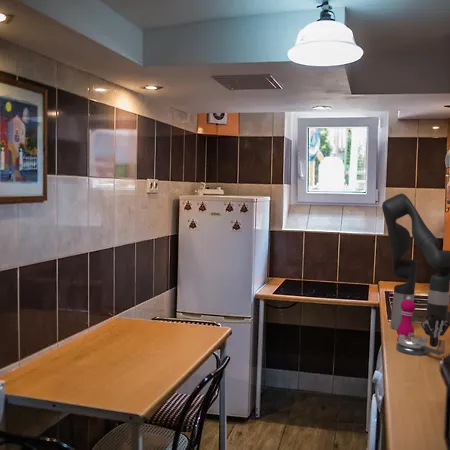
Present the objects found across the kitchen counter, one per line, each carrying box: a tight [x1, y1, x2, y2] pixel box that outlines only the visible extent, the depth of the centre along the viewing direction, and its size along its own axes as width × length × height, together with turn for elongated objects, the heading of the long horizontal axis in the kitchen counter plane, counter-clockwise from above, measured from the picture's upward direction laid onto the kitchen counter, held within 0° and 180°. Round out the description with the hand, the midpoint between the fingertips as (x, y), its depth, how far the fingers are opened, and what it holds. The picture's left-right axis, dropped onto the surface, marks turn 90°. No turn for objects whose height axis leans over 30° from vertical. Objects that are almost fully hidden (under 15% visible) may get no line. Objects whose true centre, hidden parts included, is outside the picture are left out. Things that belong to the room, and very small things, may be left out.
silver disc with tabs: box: [395, 342, 428, 357], centre depth 225 cm, size 12×12×2 cm
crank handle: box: [397, 332, 446, 356], centre depth 221 cm, size 20×11×6 cm, turn 34°
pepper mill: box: [396, 297, 416, 343], centre depth 237 cm, size 7×7×20 cm
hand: (433, 346), depth 212 cm, fingers closed
